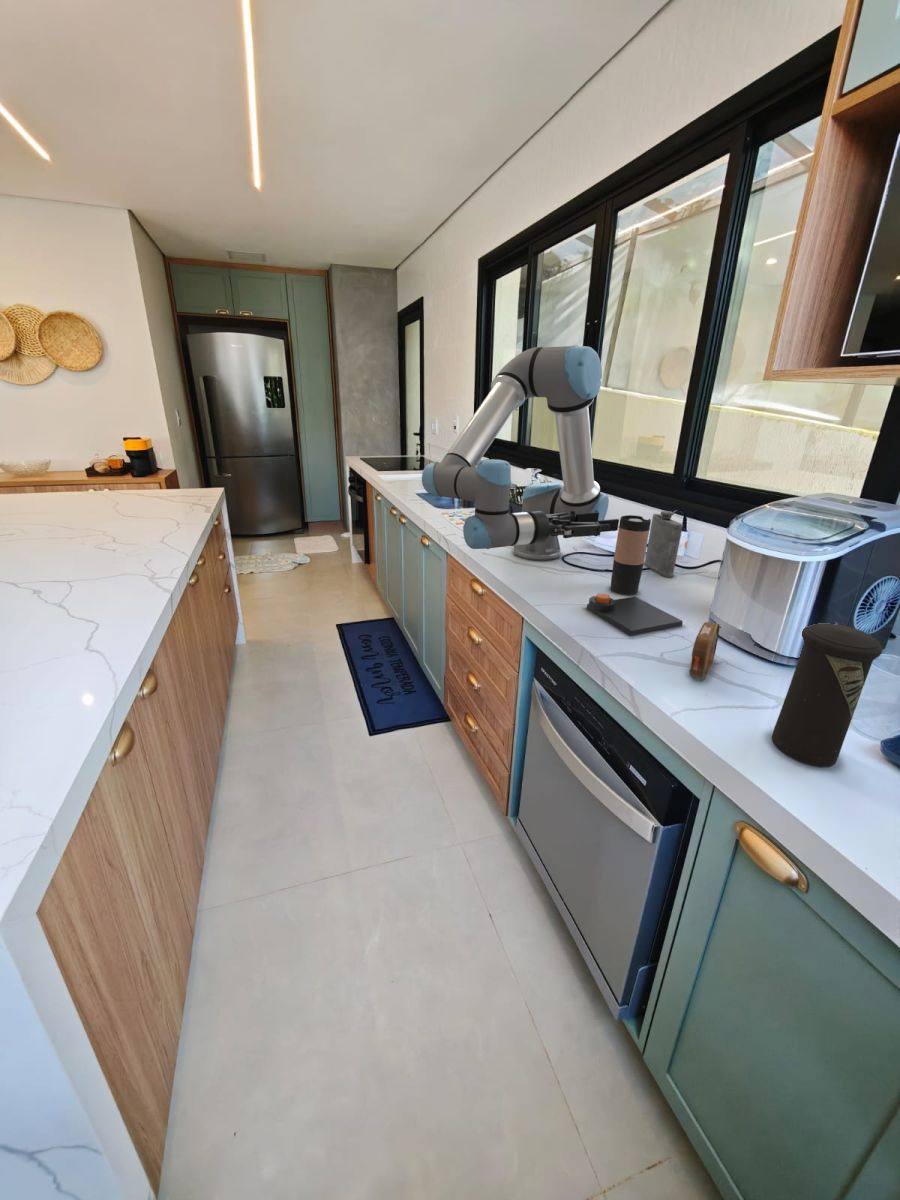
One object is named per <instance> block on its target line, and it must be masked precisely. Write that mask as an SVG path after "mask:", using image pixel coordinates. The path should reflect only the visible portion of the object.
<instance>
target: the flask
mask: <svg viewBox="0 0 900 1200" xmlns="http://www.w3.org/2000/svg"><path fill="white" fill-rule="evenodd" d="M673 513H674V512H673V511H671V510H661V511H660V513H652V519H651V523H650V529H649V535H648V541H647V547H646V553H645V559H644V564H645V565H646V566H647V567H648V568H649V569H650V570H652V571H653V572H654V573H656V574H658V575H660V576H661V577H664V578H673V576H674V572H675V567H676V563H677V562H676V561H677V557H678V552H679V547H680V542H681V538H682V537H681V536H682V532H683V526H684V524H683V523H682V522H679V521H676V520H673V519H672V516H673Z"/></svg>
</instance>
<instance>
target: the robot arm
mask: <svg viewBox="0 0 900 1200" xmlns="http://www.w3.org/2000/svg"><path fill="white" fill-rule="evenodd" d="M602 369H603V368H602V363H601V359H600V357H599V354H598V353H597V351H596V350H594V348H592V347H591V346H587V345H586V346H585V345H578V344H574V345H568V346H567V345H565V346H563V345H562V346H545V347H544V346H536V347H531V348H528V349H526V350H524V351H522V352H520V353H519V354H517V355H515V357H513V358H512V359H511V360H509V361H508V362H507V363H506V364H504V366H503V367H502V368H501V369H500V370H499V372H498V373H497V374H496V375H495V376H494V378H493V380H492V381H491V383H490V391H489V392H488V394H487V395H486V397H485V398H484V399H483V401H482V403H480V405H479V406H478V408H477V409H476V411H475V412H474V414H473V415H472V417H471V418H470V419H469V421H468V423H467V424H466V425H465V427H464V428H463V430H461V432H460V434H459V435H458V437H457V438H456V440H455V441H454V443H453V444H452V445H451V447H450V448H449V449H448V451H447V453H446V454H445V456H444V457H443V459H442V460H441V461H440V462H439V461H434V462H433V461H432V462H430V463H428V464H426V465H425V466H424V468H423V471H422V474H421V484H422V487H423V489H424V491H425V492H426V493H428V494H430V495H433V496H437V497H440V498H443V497H444V498H449V499H457V500H461V501H462V500H463V501H469V502H474V515H473V514H472V515H470V516H468V517H466V519H465V520H464V523H463V528H462V532H463V533H462V535H463V538H464V542H465V544H466V545H467V546H468V547H469V548H470V549H472V550H483V549H484V550H485V549H486V550H490V549H497V548H503V547H504V548H505V547H513V554H514V555H515V556H516V557H519V558H522V559H525V560H532V561H552V560H556V559H558V558H560V556H561V546H560V541H559V536H562V539H570V538H581V537H598V536H599V537H600V536H601V533H606V532H615V531H616V532H618V530H619V524H620V519H619V518H612V519H605V518H606V516H607V513H608V509H609V503H610V499H609V496H608V495H607V494H605V493H601V487H600V484H599V483H598V482H597V481H595V477H594V475H595V474H594V463H593V450H592V438H591V437H592V436H591V423H590V422H591V421H590V411H589V407H590V406H591V405H592V403H593V402H594V400H595V398H596V396H597V395H598V394H599V392H600V390H601V386H602V381H601V380H602V378H603V370H602ZM530 398H545V399H546V403H547V409H548V410H549V412H552V413H553V414H554V419H555V428H556V435H557V444H558V451H559V458H560V459H559V460H560V466H561V474H562V475H561V476H562V482H563V483H561V482H557V481H556V482H555V481H551V482H550V481H547V482H536V483H531V484H528V485H526V486H525V487H524V489H523V494H522V505H521V507H522V508H521V512H512V513H511V512H509V507H510V497H511V496H510V493H511V485H512V477H511V476H512V467H511V466H512V465H511V464H510V462H508V461H507V460H502V459H491V458H490V459H489V458H487V459H482V458H483V457H484V455H486V452H487V451H488V449H489V448H490V447H491V445H492V444H493V442H494V440H495V439H496V437H497V436H498V434H499V433H500V431H501V430H502V429H503V427H504V425H505V424H506V422H507V421H508V419H509V418H510V416H511V415H512V413H513V412H514V410H515V409H517V408H520V407H521V406H522V405H523V404H524V402H525V401H526V400H528V399H530ZM562 484H563V485H562Z"/></svg>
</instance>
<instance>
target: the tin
mask: <svg viewBox="0 0 900 1200" xmlns="http://www.w3.org/2000/svg"><path fill="white" fill-rule="evenodd" d="M719 636H720V623H715V622H709V621H705V622H704V623H703V624H702V626H701V628H700V629H699V631H698V633H697V635H696V637H695V640H694V643H693V647H692V652H691V663H690V668H689V673H688V674H689V676H690V677H693V678H696V679H700V680H703V681H705V680H706V678H707V676H708V674H709V671H710V669H711V667H712V664H713V662H714V659H715V655H716V650H717V647H718V646H717V645H718V641H719Z"/></svg>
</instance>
